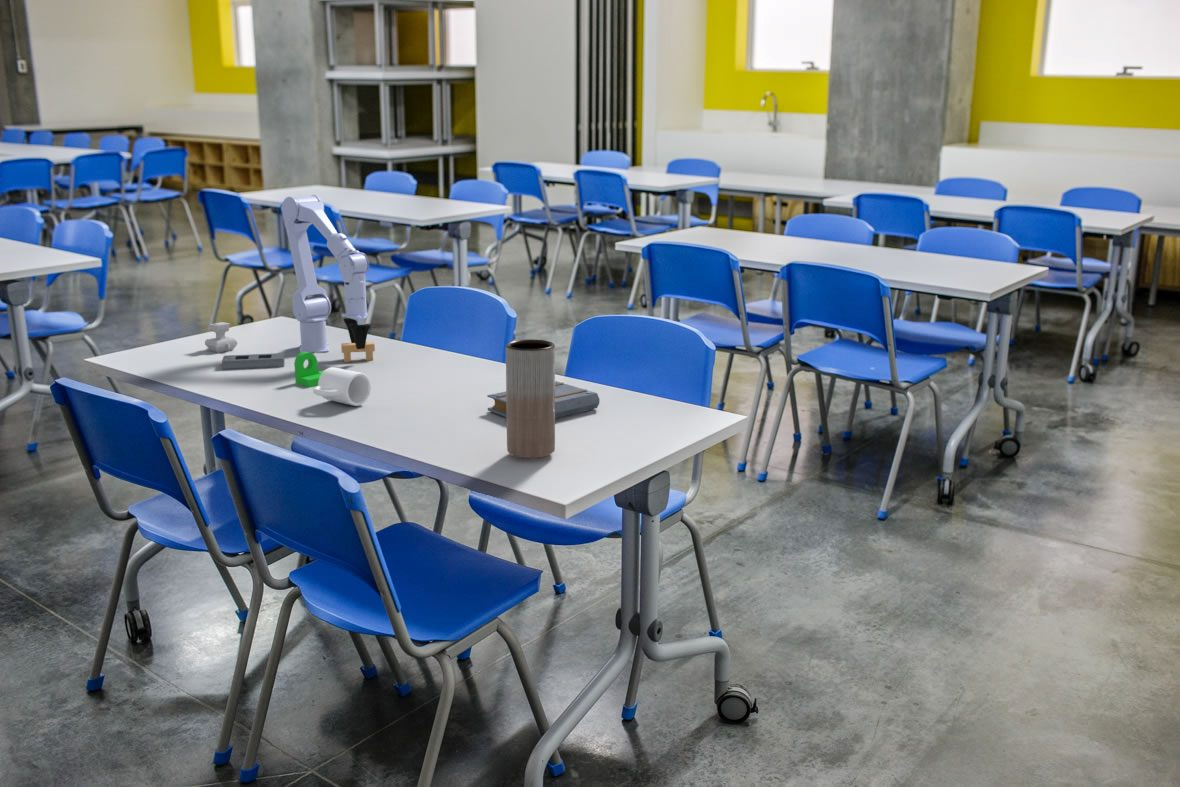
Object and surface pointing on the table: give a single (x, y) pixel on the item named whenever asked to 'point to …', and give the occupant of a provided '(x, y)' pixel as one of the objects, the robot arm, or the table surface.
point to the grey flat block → (253, 361)
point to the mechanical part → (307, 370)
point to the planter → (530, 398)
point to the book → (557, 400)
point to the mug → (343, 386)
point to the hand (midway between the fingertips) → (358, 346)
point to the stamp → (220, 338)
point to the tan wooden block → (357, 350)
